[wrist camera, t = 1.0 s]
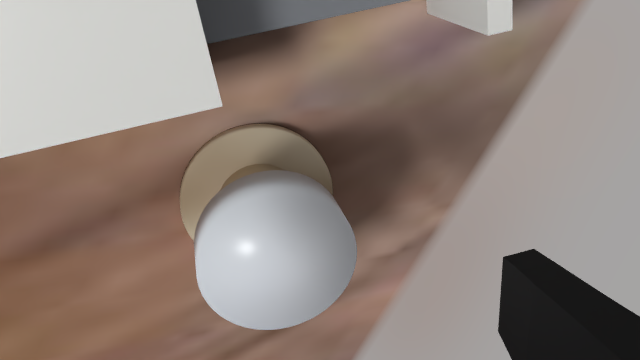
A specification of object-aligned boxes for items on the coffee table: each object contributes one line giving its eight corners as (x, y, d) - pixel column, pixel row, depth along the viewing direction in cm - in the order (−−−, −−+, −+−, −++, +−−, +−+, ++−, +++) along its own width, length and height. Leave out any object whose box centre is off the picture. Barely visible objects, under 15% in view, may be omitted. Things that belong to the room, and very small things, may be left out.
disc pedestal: (338, 236, 24) (363, 283, 21) (202, 275, 23) (207, 329, 20) (316, 107, 21) (341, 139, 18) (160, 144, 20) (159, 185, 17)
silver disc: (352, 278, 21) (365, 304, 19) (215, 317, 20) (218, 348, 18) (331, 153, 18) (345, 172, 17) (175, 192, 18) (175, 216, 16)
